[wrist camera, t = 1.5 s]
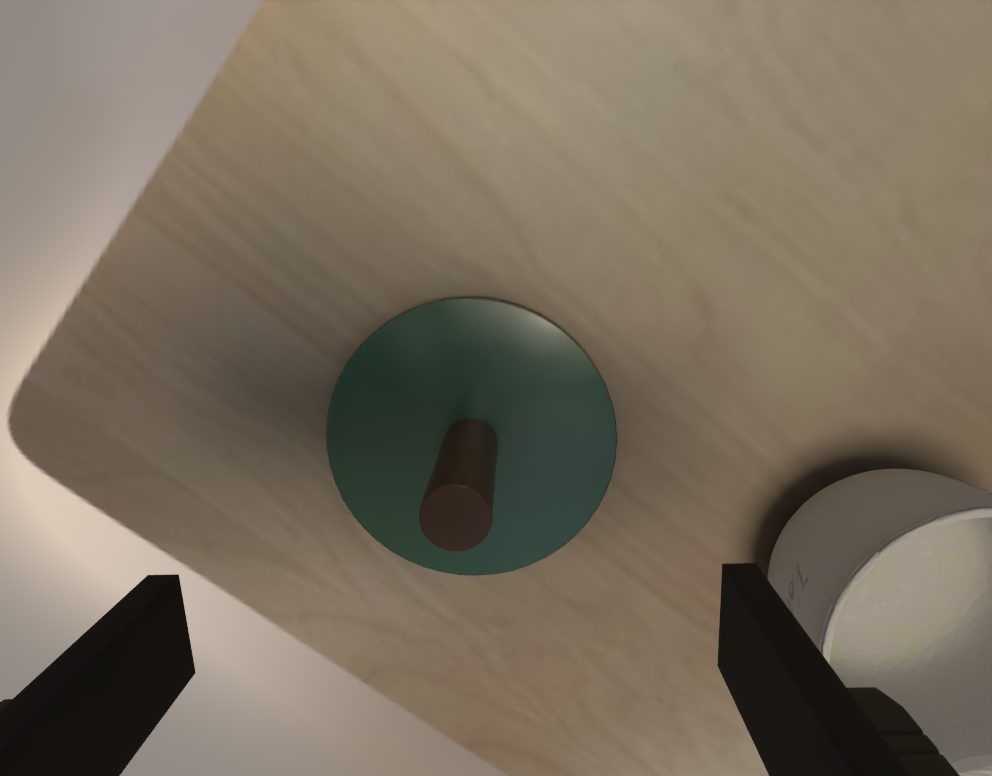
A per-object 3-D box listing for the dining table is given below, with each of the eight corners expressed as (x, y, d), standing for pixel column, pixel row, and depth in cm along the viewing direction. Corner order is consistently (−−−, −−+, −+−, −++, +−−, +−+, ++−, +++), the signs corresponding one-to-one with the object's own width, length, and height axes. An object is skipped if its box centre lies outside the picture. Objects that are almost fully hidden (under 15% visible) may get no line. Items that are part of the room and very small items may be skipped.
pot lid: (289, 488, 30) (200, 588, 21) (408, 242, 27) (360, 245, 19) (528, 605, 31) (533, 744, 23) (666, 380, 28) (731, 443, 20)
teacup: (701, 519, 30) (767, 621, 22) (916, 394, 28) (1071, 455, 20) (839, 731, 32) (943, 889, 24) (1044, 627, 30) (1226, 762, 23)
